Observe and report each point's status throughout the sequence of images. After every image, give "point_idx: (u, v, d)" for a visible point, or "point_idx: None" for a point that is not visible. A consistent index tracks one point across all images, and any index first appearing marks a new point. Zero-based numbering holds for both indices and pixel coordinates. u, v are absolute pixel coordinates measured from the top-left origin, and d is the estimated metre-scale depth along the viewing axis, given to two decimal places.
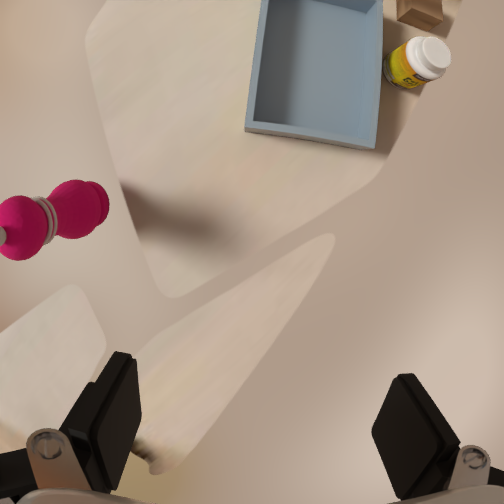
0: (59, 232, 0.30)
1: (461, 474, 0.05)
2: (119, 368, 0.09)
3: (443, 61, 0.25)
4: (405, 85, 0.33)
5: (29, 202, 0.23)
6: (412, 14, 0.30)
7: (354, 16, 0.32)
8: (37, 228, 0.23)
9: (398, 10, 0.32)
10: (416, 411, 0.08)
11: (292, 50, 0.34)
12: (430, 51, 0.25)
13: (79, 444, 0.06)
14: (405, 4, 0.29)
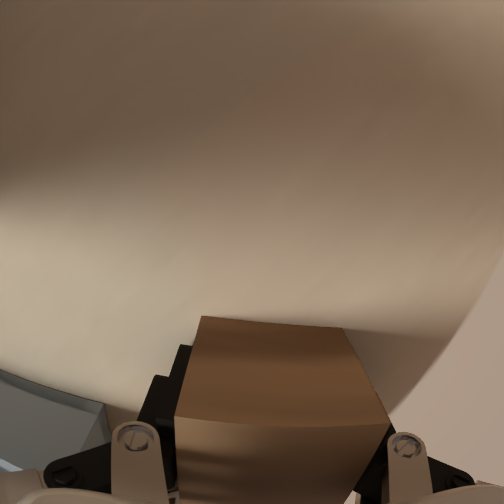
0: None
1: (398, 466, 0.06)
2: None
3: None
4: None
5: None
6: None
7: None
8: None
9: None
10: None
11: None
12: None
13: (163, 433, 0.07)
14: None
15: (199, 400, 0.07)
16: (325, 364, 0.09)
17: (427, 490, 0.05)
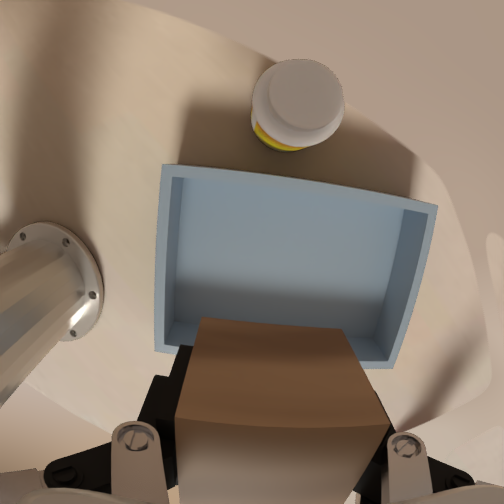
0: None
1: (398, 466, 0.06)
2: (189, 359, 0.10)
3: (326, 82, 0.15)
4: None
5: None
6: None
7: (195, 195, 0.26)
8: None
9: None
10: None
11: (272, 294, 0.28)
12: (311, 111, 0.15)
13: (163, 433, 0.07)
14: None
15: (199, 401, 0.07)
16: (325, 365, 0.09)
17: (427, 490, 0.05)
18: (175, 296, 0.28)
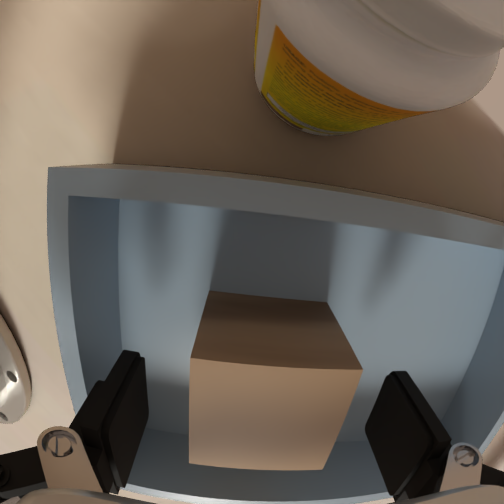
0: None
1: (453, 472, 0.06)
2: (128, 366, 0.09)
3: None
4: None
5: None
6: None
7: (143, 226, 0.13)
8: None
9: None
10: (408, 408, 0.08)
11: None
12: None
13: (90, 442, 0.06)
14: None
15: (209, 347, 0.09)
16: (311, 327, 0.11)
17: None
18: None
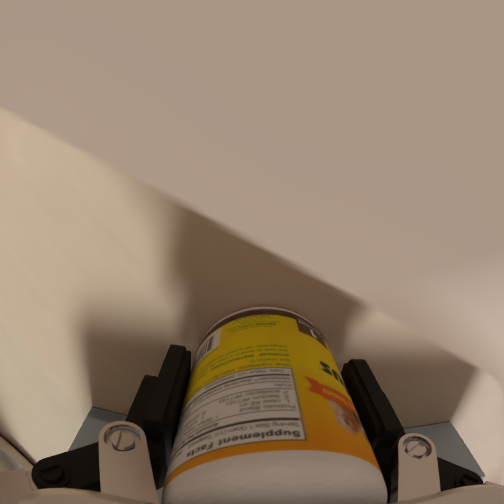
0: None
1: (408, 466, 0.06)
2: (178, 360, 0.10)
3: None
4: None
5: None
6: None
7: None
8: None
9: None
10: (361, 395, 0.09)
11: None
12: None
13: (150, 434, 0.07)
14: None
15: None
16: None
17: (439, 490, 0.05)
18: None
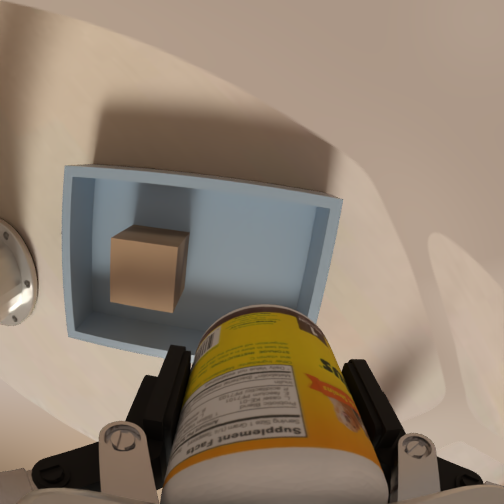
0: None
1: (408, 466, 0.06)
2: (179, 360, 0.10)
3: None
4: None
5: None
6: None
7: (105, 193, 0.26)
8: None
9: None
10: (361, 395, 0.09)
11: None
12: None
13: (150, 434, 0.07)
14: None
15: (120, 236, 0.22)
16: (170, 236, 0.24)
17: (438, 490, 0.05)
18: (92, 287, 0.28)
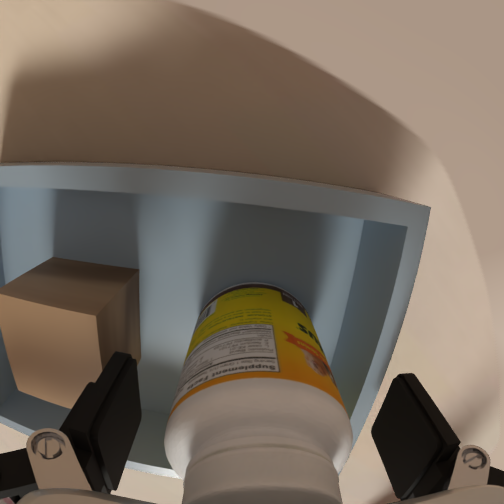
0: None
1: (461, 474, 0.05)
2: (119, 368, 0.09)
3: None
4: None
5: None
6: None
7: (12, 208, 0.14)
8: None
9: None
10: (416, 411, 0.08)
11: None
12: None
13: (79, 444, 0.06)
14: None
15: (10, 288, 0.10)
16: (96, 284, 0.12)
17: None
18: None
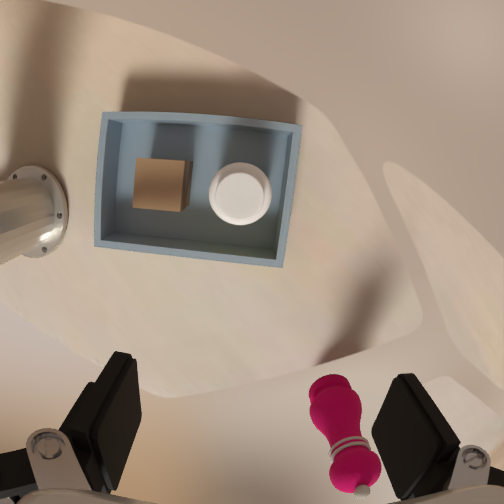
0: (359, 429, 0.34)
1: (461, 474, 0.05)
2: (119, 368, 0.09)
3: (252, 188, 0.26)
4: None
5: (339, 465, 0.28)
6: None
7: (129, 137, 0.34)
8: (362, 459, 0.27)
9: None
10: (416, 411, 0.08)
11: None
12: (242, 209, 0.26)
13: (79, 444, 0.06)
14: None
15: None
16: None
17: None
18: (115, 211, 0.36)
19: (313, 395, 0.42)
